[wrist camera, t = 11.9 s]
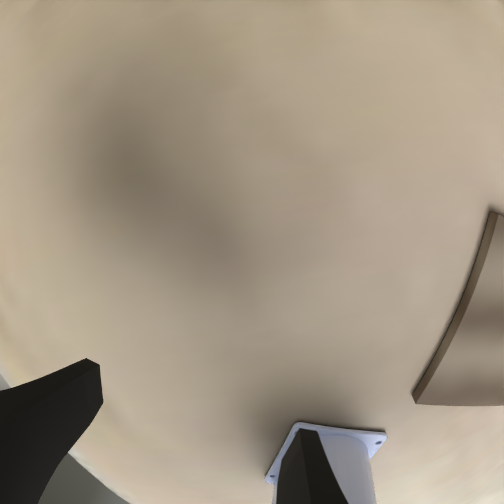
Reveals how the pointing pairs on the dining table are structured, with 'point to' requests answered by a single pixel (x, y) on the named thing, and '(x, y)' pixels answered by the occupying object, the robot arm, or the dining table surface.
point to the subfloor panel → (473, 335)
